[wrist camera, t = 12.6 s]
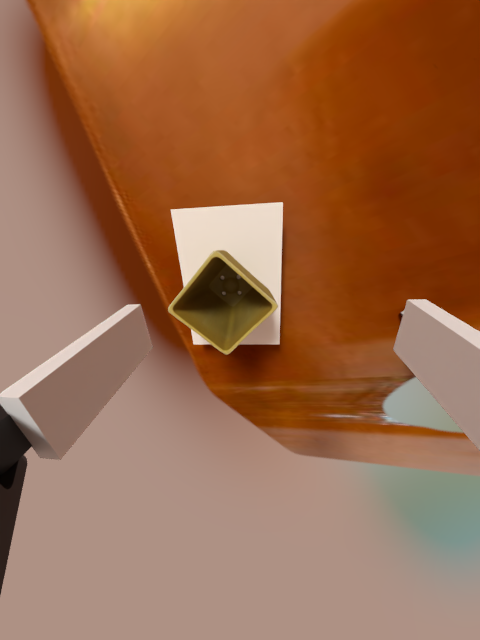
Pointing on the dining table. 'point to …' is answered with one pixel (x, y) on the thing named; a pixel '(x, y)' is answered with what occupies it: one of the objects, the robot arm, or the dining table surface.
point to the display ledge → (235, 250)
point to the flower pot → (223, 302)
